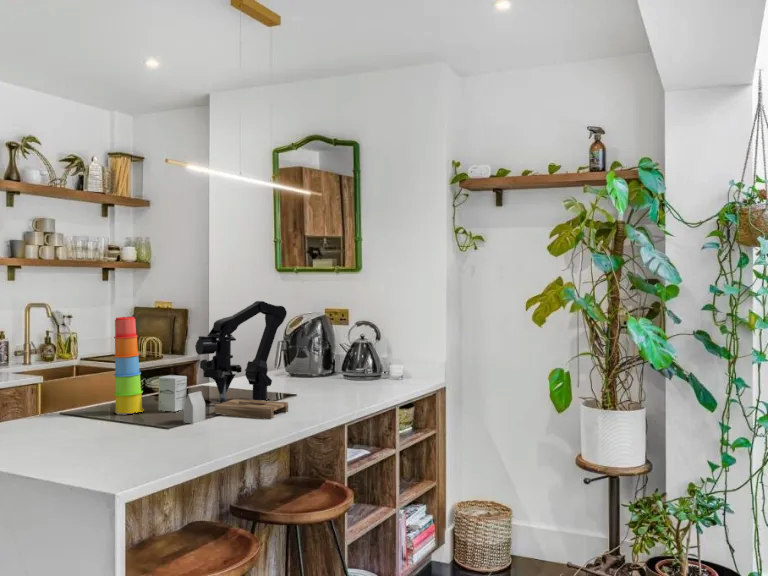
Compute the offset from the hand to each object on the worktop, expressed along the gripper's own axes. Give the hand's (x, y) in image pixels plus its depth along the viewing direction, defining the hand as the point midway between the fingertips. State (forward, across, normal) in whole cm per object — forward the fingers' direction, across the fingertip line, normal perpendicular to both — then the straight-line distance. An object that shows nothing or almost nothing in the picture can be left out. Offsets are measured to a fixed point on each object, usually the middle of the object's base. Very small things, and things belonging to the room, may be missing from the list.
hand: (222, 393), depth 262 cm
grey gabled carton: (+5, +30, +7) cm, 31 cm away
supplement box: (+5, +15, -12) cm, 20 cm away
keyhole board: (+5, +10, +18) cm, 21 cm away
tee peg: (+4, 0, 0) cm, 4 cm away
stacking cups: (+5, +24, -24) cm, 34 cm away
